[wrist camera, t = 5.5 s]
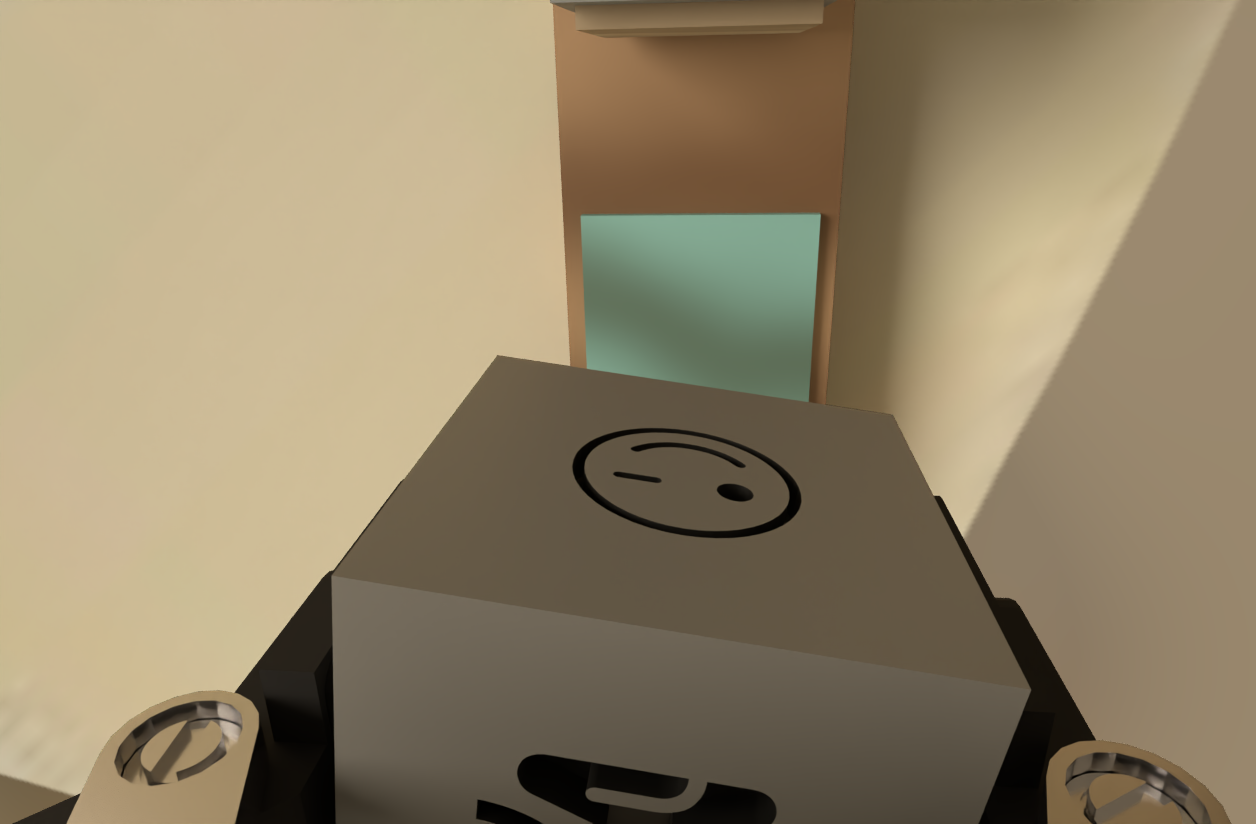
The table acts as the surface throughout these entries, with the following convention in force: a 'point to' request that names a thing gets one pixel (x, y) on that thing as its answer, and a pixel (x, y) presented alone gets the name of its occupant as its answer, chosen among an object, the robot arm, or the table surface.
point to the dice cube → (663, 619)
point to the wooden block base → (703, 187)
